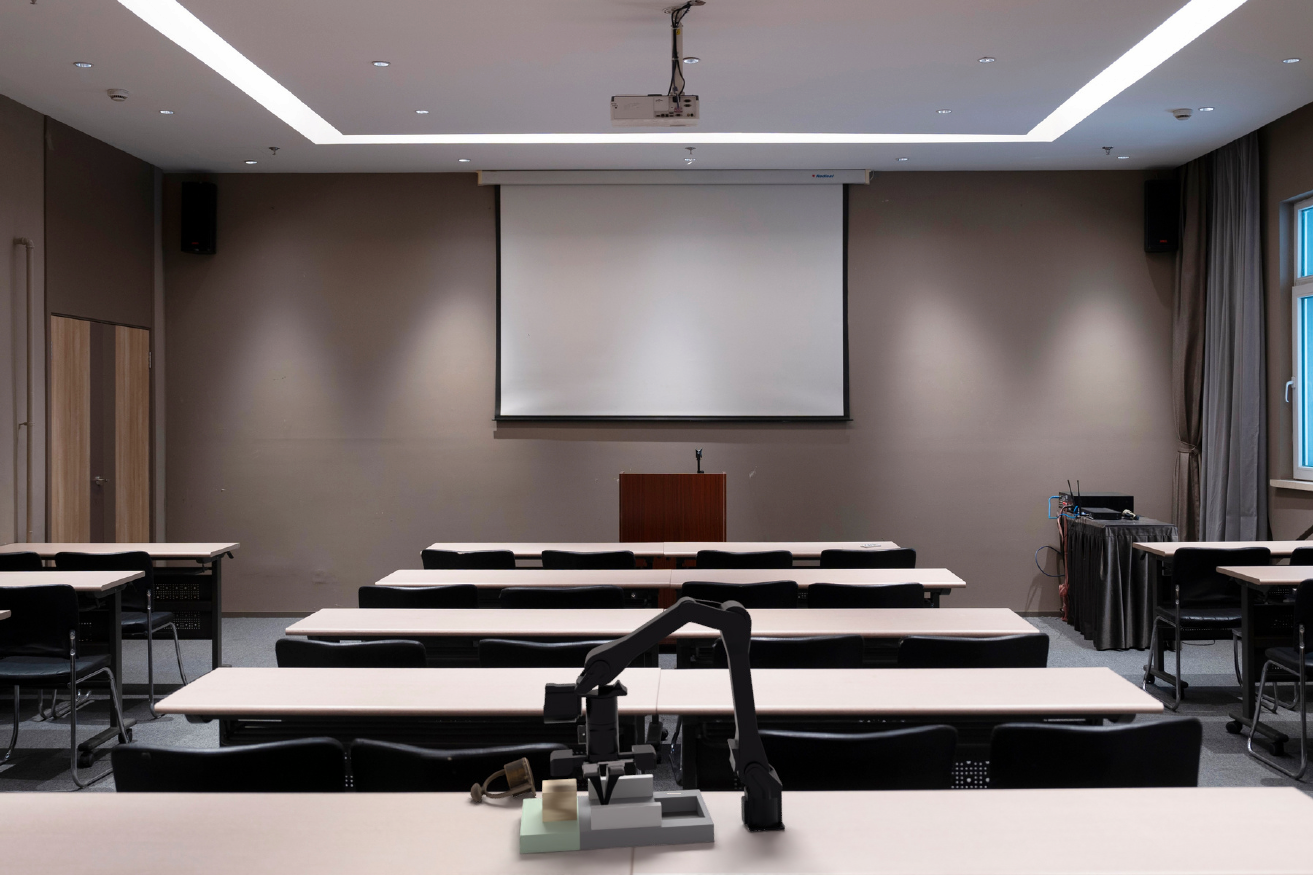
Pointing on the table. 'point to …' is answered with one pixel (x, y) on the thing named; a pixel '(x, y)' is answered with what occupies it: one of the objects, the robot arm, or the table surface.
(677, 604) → the robot arm
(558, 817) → the maple block
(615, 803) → the stepped grey tray
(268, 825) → the table surface
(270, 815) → the table surface
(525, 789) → the brown cylinder with loop
